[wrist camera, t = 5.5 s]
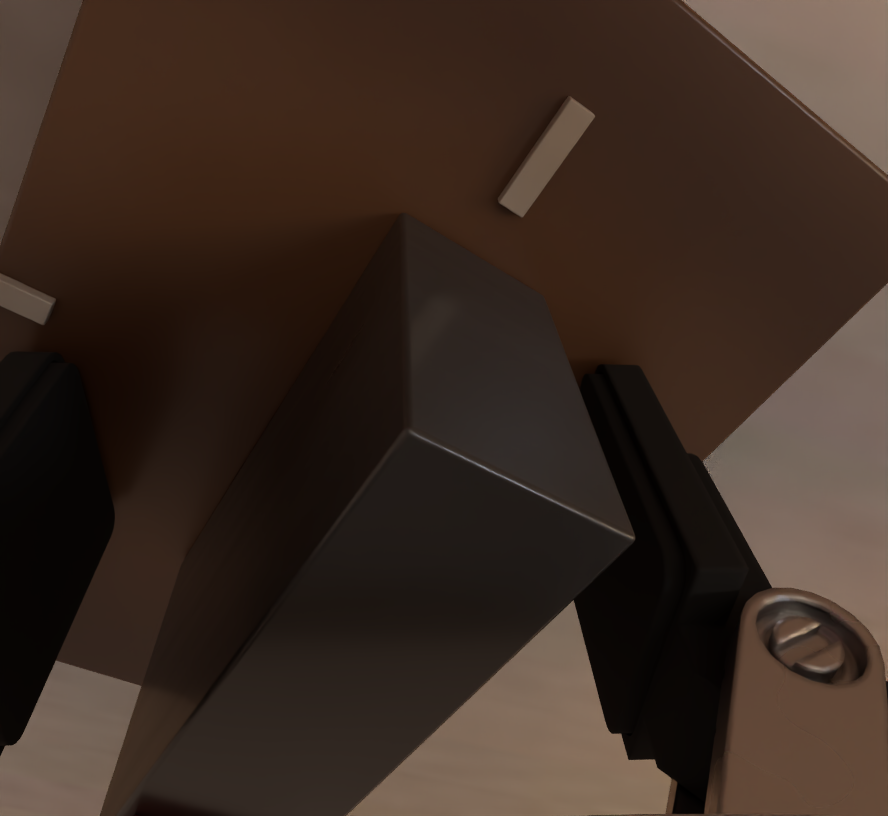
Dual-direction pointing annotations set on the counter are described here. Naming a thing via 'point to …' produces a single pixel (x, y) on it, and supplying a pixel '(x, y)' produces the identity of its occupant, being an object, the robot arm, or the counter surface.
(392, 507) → the dark bar red tip
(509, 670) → the counter surface
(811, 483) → the counter surface
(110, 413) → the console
